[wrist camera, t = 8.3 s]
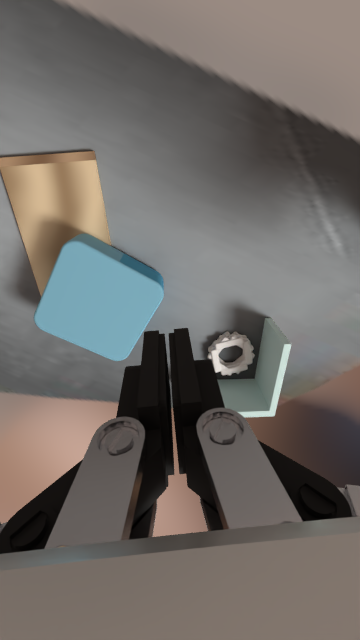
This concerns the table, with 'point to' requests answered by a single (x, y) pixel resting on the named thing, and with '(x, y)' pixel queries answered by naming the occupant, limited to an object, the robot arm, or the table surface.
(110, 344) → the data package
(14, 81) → the table surface
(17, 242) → the table surface
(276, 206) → the table surface
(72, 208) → the wooden board
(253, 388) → the mint corner bracket
